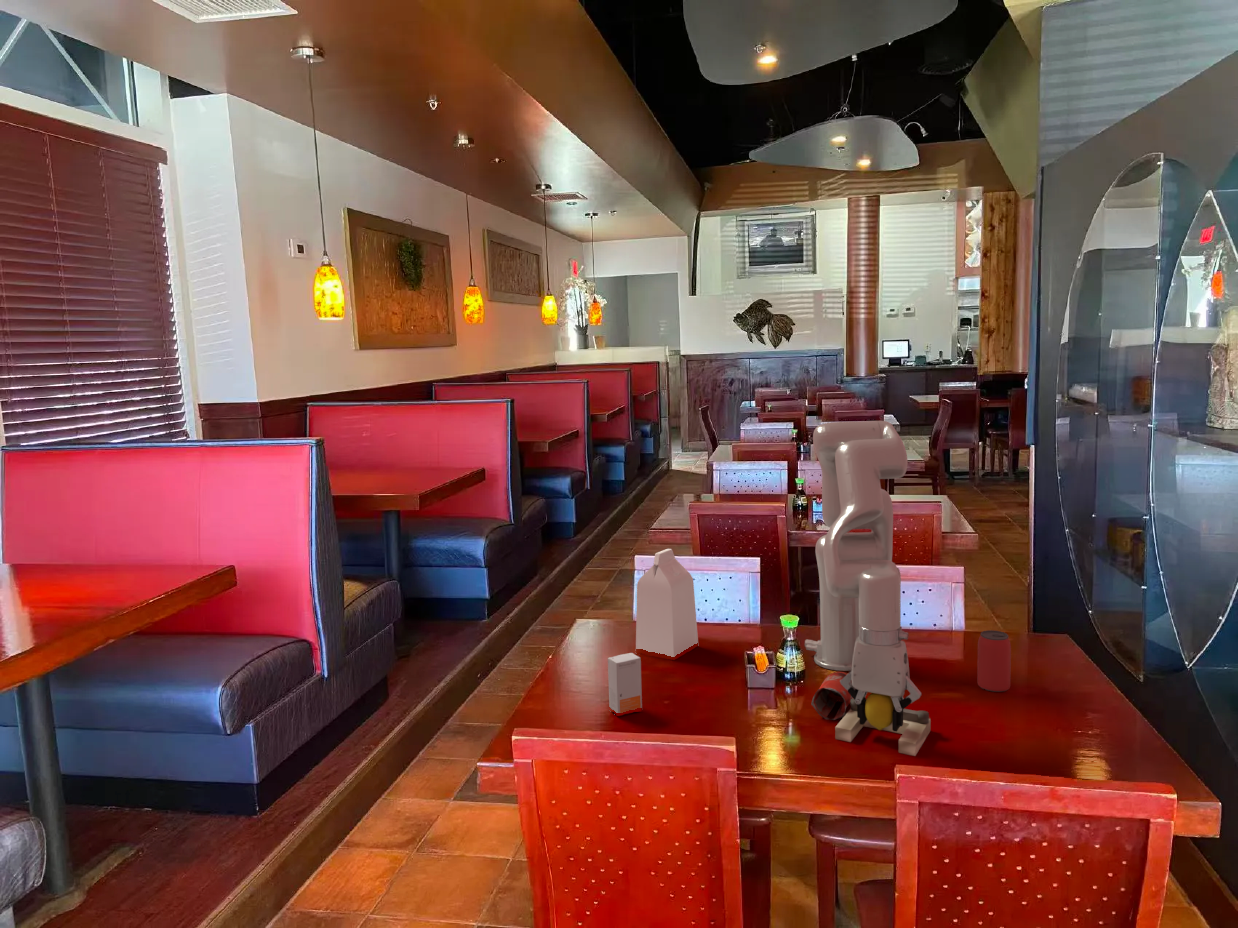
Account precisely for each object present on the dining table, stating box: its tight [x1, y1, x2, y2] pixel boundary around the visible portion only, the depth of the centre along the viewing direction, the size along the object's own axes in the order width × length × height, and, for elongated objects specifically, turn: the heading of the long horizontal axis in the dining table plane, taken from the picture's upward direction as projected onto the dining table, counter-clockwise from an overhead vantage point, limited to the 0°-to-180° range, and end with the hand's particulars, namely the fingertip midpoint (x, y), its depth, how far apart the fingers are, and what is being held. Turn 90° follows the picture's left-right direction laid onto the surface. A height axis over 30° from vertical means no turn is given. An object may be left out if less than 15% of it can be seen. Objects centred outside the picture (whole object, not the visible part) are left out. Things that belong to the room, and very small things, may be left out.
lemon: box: [865, 693, 894, 731], centre depth 160 cm, size 6×6×8 cm
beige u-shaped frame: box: [834, 698, 932, 757], centre depth 162 cm, size 15×12×4 cm
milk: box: [635, 548, 699, 657], centre depth 213 cm, size 12×12×26 cm
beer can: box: [976, 629, 1012, 693], centre depth 182 cm, size 7×7×12 cm
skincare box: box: [607, 652, 643, 713], centre depth 177 cm, size 6×4×12 cm
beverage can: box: [811, 671, 853, 721], centre depth 175 cm, size 7×12×7 cm, turn 153°
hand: (880, 724), depth 160 cm, fingers closed on lemon, 5 cm apart
